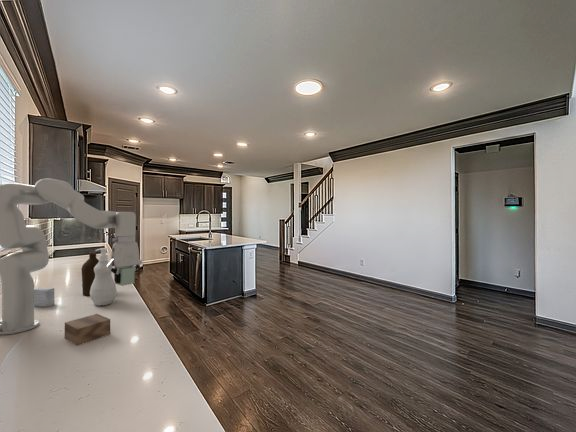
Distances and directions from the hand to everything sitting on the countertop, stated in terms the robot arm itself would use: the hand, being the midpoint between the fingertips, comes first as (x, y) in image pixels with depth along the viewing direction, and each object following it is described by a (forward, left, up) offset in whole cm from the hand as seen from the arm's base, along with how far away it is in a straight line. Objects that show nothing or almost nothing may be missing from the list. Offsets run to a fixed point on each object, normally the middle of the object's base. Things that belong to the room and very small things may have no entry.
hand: (124, 281), depth 116 cm
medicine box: (-10, +59, -19) cm, 63 cm away
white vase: (+8, +37, -19) cm, 42 cm away
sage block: (0, 0, -1) cm, 1 cm away
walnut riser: (-14, 0, -19) cm, 23 cm away
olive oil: (+13, +61, -19) cm, 65 cm away
